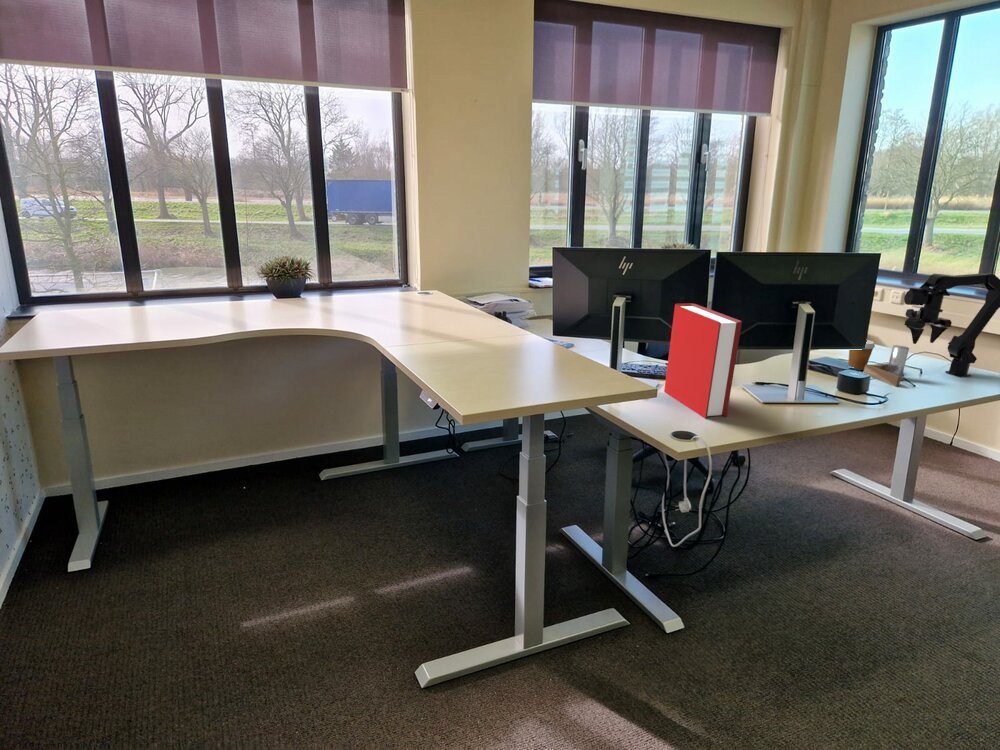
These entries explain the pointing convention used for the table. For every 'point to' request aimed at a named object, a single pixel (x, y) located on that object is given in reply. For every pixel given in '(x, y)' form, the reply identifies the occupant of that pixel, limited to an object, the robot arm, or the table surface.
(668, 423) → the table surface
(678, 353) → the book
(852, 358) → the disposable coffee cup
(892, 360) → the silver metal can
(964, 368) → the robot arm
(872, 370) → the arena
